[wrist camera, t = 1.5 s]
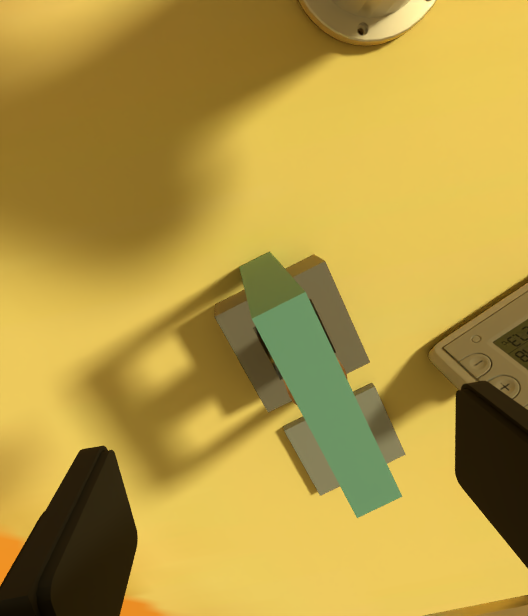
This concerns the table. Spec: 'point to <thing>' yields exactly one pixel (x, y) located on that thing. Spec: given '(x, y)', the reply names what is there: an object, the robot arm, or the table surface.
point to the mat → (315, 458)
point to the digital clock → (490, 348)
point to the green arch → (317, 383)
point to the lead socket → (253, 349)
